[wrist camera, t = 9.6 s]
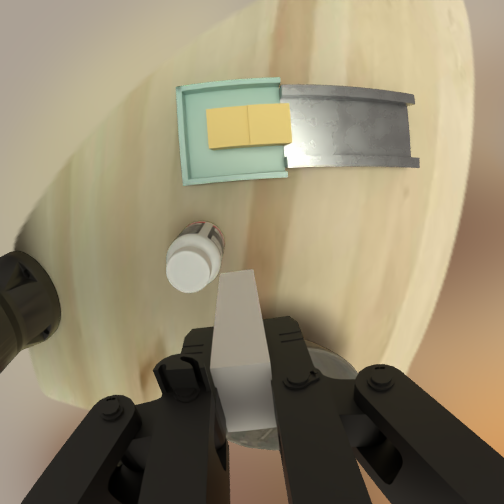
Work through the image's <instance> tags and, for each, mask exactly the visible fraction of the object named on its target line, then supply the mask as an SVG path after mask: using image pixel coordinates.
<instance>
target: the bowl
mask: <svg viewBox="0 0 504 504" xmlns="http://www.w3.org/2000/svg"><path fill="white" fill-rule="evenodd" d="M304 341H305V343H306V346H307V349H308V351H309V354H310V356H311V359H312V362H313V364H314V366H315V368H317V369H319V370H320V371H321V373H322V374H323V375H325V376H327V377H330V378H334V379H356V376H357V375H358V373H357V371H356V370H355V369H354V367H353V366H352V365H351V364H350V363H349V362H347V361H346V360H345V359H343V358H342V357H341V356H339V355H338V354H336V353H334V352H333V351H331V350H329V349H327V348H325V347H322V346H320V345H318V344H316V343H313V342H311V341H308V340H304ZM226 438H227V440H228V441H231V442H233V443H236V444H238V445H242V446H245V447H249V448H258V449H267V450H279V441H278V432H277V427H273V428H266V429H258V430H249V431H238V432H228V430H227V427H226Z"/></svg>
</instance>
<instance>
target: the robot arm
mask: <svg viewBox="0 0 504 504" xmlns="http://www.w3.org/2000/svg"><path fill="white" fill-rule="evenodd" d="M59 322H60V305H59V300H58V296H57V293H56V291H55V288H54V286H53V284H52V282H51V280H50V278H49V276H48V275H47V273H46V272H45V271H44V269H43V268H42V267H41V266H40V264H39V263H38V262H37V261H35V260H34V259H33V258H32V257H30V256H29V255H27V254H25V253H23V252H19V251H13V252H9V253H7V254H6V255H4V256H2V257H0V373H1V372H2V371H3V370H4V369H5V368H6V366H7V365H8V364H9V363H10V362H11V361H12V360H13V359H14V357H15V356H16V355H17V354H18V353H19V352H20V351H21V350H23V349H26V348H29V347H31V346H34V345H36V344H39V343H41V342H44V341H45V340H47V339H48V338H49V337H50V336H51V335H52V334H53V333H54V332H55V331H56V329H57V328H58V325H59ZM153 372H154V374H155V377H156V379H157V382H158V384H159V387H160V389H161V391H162V397H161V398H159V399H157V400H154V401H151V402H147V403H142V404H138V405H135V404H134V403H133V402H132V400H131V399H130V398H128V397H126V396H123V395H113V396H108V397H106V398H104V399H102V400H100V401H99V402H97V403H96V404H95V405H94V406H93V408H92V409H91V410H90V411H89V413H88V414H87V415H86V417H85V418H84V419H83V421H82V422H81V423H80V425H79V426H78V427H77V428H76V430H75V431H74V432H73V434H72V435H71V436H70V438H69V439H68V440H67V441H66V443H65V444H64V445H63V447H62V448H61V449H60V451H59V452H58V453H57V455H56V456H55V457H54V459H53V460H52V461H51V463H50V464H49V465H48V467H47V468H46V470H45V471H44V472H43V474H42V475H41V476H40V478H39V479H38V480H37V482H36V483H35V484H34V486H33V487H32V489H31V490H30V491H29V493H28V494H27V496H26V497H25V498H24V500H23V501H22V503H21V504H230V479H229V478H230V477H229V475H230V473H229V445H228V441H227V438H226V427H227V430H228V432H238V431H249V430H258V429H266V428H273V427H277V432H278V441H279V450H280V454H281V460H282V466H283V472H284V478H285V484H286V490H287V496H288V502H289V504H372V502H371V499H370V497H369V494H368V491H367V488H366V485H365V483H364V480H363V478H362V475H361V472H360V469H359V466H358V464H357V461H356V459H357V460H358V462H359V463H360V464H361V466H362V467H363V468H364V470H365V471H366V472H367V474H368V475H369V476H370V477H371V479H372V480H373V481H374V482H375V484H376V485H377V486H378V488H379V489H380V490H381V491H382V493H383V494H384V495H385V496H386V498H387V499H388V500H389V501H390V503H391V504H504V458H503V457H502V456H501V455H500V454H499V453H498V452H496V451H495V450H494V449H493V448H492V447H491V446H489V445H488V444H487V443H486V442H485V441H483V440H482V439H481V438H480V437H479V436H477V435H476V434H475V433H474V432H473V431H472V430H470V429H469V428H468V427H467V426H466V425H464V424H463V423H462V422H461V421H460V420H459V419H457V418H456V417H455V416H454V415H453V414H451V413H450V412H449V411H448V410H447V409H445V408H444V407H443V406H442V405H441V404H439V403H438V402H437V401H436V400H435V399H434V398H432V397H431V396H430V395H429V394H428V393H426V392H425V391H424V390H423V389H422V388H420V387H419V386H418V385H417V384H415V382H413V381H412V380H411V379H410V378H409V377H407V376H406V375H405V374H404V373H403V372H401V371H400V370H398V369H397V368H395V367H393V366H389V365H385V364H376V365H372V366H368V367H366V368H364V369H363V370H361V371H360V372H359V373H358V375H357V376H356V379H334V378H330V377H327V376H325V375H323V374H322V373H321V371H320V370H319V369H317V368H315V366H314V364H313V362H312V359H311V356H310V354H309V351H308V349H307V346H306V343H305V341H304V339H303V336H302V333H301V330H300V328H299V325H298V323H297V322H296V321H295V320H294V319H292V318H291V317H290V316H286V317H279V318H272V319H265V320H262V314H261V309H260V303H259V298H258V293H257V287H256V282H255V276H254V271H253V269H249V270H242V271H234V272H226V273H220V276H219V285H218V294H217V303H216V312H215V322H214V327H207V328H197V329H192V330H191V331H190V332H189V333H188V334H187V335H186V337H185V339H184V343H183V348H182V351H181V354H176V355H171V356H169V357H167V358H164V359H163V360H161V361H160V362H159V363H158V364H157V365H156V366H155V368H154V369H153Z"/></svg>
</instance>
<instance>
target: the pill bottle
mask: <svg viewBox="0 0 504 504" xmlns="http://www.w3.org/2000/svg"><path fill="white" fill-rule="evenodd" d="M224 247H225V240H224V236H223V234H222V232H221V231H220V229H219V228H218V227H217V226H215V225H214V224H212V223H210V222H206V221H197V222H193V223H191V224H190V225H188V226H187V227H186V228H185V229H184V230H183V231H182V232H181V233H180V234H179V236H178V237H177V238H176V239H175V240H174V241H173V242H172V244H171V245H170V247H169V249H168V251H167V255H166V264H167V266H166V275H167V278H168V280H169V282H170V283H171V285H172V286H173V287H174V288H176V289H177V290H179V291H181V292H185V293H195V292H198V291H200V290H202V289H203V288H204V287H205V286H206V285H207V284H209V283H210V282H212V281H213V280H214V279H215V277H216V276H217V274H218V273H219V271H220V267H221V262H222V257H223V253H224Z"/></svg>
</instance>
